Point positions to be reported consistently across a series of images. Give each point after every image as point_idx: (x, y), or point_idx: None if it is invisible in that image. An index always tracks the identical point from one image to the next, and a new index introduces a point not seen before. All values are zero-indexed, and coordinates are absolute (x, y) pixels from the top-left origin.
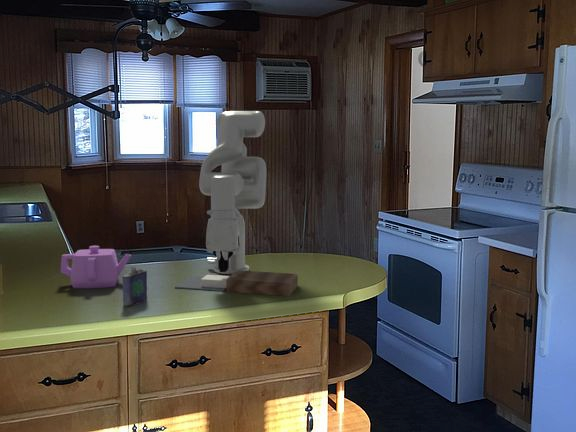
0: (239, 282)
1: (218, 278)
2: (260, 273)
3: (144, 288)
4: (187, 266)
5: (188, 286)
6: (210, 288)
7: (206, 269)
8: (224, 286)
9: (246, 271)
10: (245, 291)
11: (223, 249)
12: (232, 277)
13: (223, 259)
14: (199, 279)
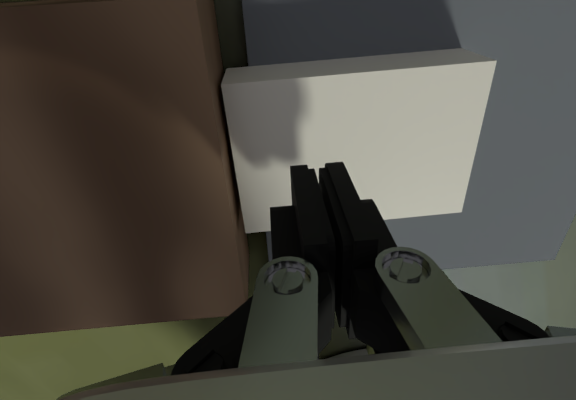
0: (41, 3)
1: (342, 135)
2: (28, 293)
3: None
4: None
5: (569, 14)
6: (370, 9)
7: None
8: (261, 67)
9: (168, 306)
10: (25, 1)
11: (323, 392)
12: (167, 92)
13: (341, 298)
14: (498, 218)
